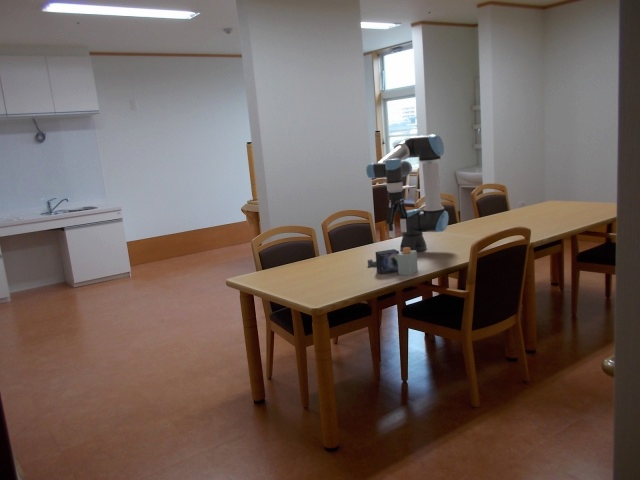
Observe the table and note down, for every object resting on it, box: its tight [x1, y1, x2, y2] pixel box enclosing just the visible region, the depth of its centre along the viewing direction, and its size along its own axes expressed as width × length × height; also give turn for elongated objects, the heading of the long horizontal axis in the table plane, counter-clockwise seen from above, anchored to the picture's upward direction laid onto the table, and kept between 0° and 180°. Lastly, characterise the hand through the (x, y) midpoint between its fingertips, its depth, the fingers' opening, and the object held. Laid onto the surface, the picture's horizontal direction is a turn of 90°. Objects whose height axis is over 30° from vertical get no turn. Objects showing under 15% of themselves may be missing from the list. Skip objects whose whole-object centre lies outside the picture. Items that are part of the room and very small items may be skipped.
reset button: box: [402, 247, 411, 254], centre depth 265 cm, size 4×4×5 cm
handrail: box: [367, 258, 376, 267], centre depth 283 cm, size 2×23×3 cm, turn 59°
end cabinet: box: [397, 250, 419, 276], centre depth 266 cm, size 10×6×10 cm, turn 149°
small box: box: [375, 248, 400, 275], centre depth 272 cm, size 11×6×10 cm, turn 105°
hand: (398, 234), depth 266 cm, fingers open, 13 cm apart
